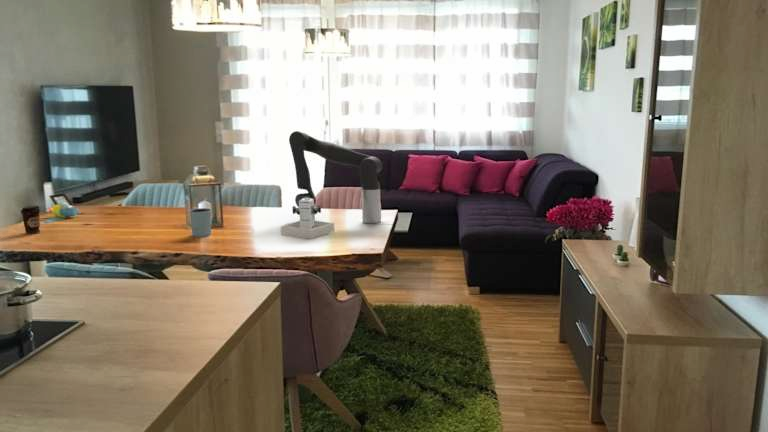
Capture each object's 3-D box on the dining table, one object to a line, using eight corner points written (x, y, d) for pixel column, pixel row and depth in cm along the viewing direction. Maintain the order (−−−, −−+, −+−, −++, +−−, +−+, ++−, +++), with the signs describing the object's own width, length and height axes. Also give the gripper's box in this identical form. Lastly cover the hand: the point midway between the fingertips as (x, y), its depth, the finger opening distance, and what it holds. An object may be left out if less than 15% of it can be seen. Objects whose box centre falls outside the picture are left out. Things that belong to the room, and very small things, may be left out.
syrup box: (311, 230, 306) (310, 200, 303) (299, 230, 307) (298, 200, 304) (315, 227, 311) (314, 198, 308) (303, 227, 312) (302, 198, 309)
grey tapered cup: (193, 237, 301) (191, 212, 298) (188, 233, 310) (187, 209, 307) (215, 235, 305) (213, 210, 303) (210, 231, 314) (208, 207, 312)
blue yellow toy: (66, 198, 366) (90, 199, 364) (67, 213, 368) (91, 214, 366) (32, 207, 339) (57, 208, 337) (33, 223, 341) (59, 224, 339)
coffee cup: (47, 231, 318) (44, 205, 315) (33, 235, 310) (30, 208, 308) (33, 230, 321) (30, 204, 318) (19, 234, 313) (16, 207, 310)
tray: (305, 227, 321) (304, 219, 320) (334, 231, 312) (334, 222, 311) (281, 234, 306) (280, 226, 305) (311, 238, 297) (310, 230, 296)
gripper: (291, 199, 319) (291, 205, 303) (320, 198, 321) (322, 204, 305) (292, 213, 321) (292, 220, 305) (320, 212, 323) (322, 219, 307)
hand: (307, 212), depth 305 cm, fingers closed on syrup box, 7 cm apart
